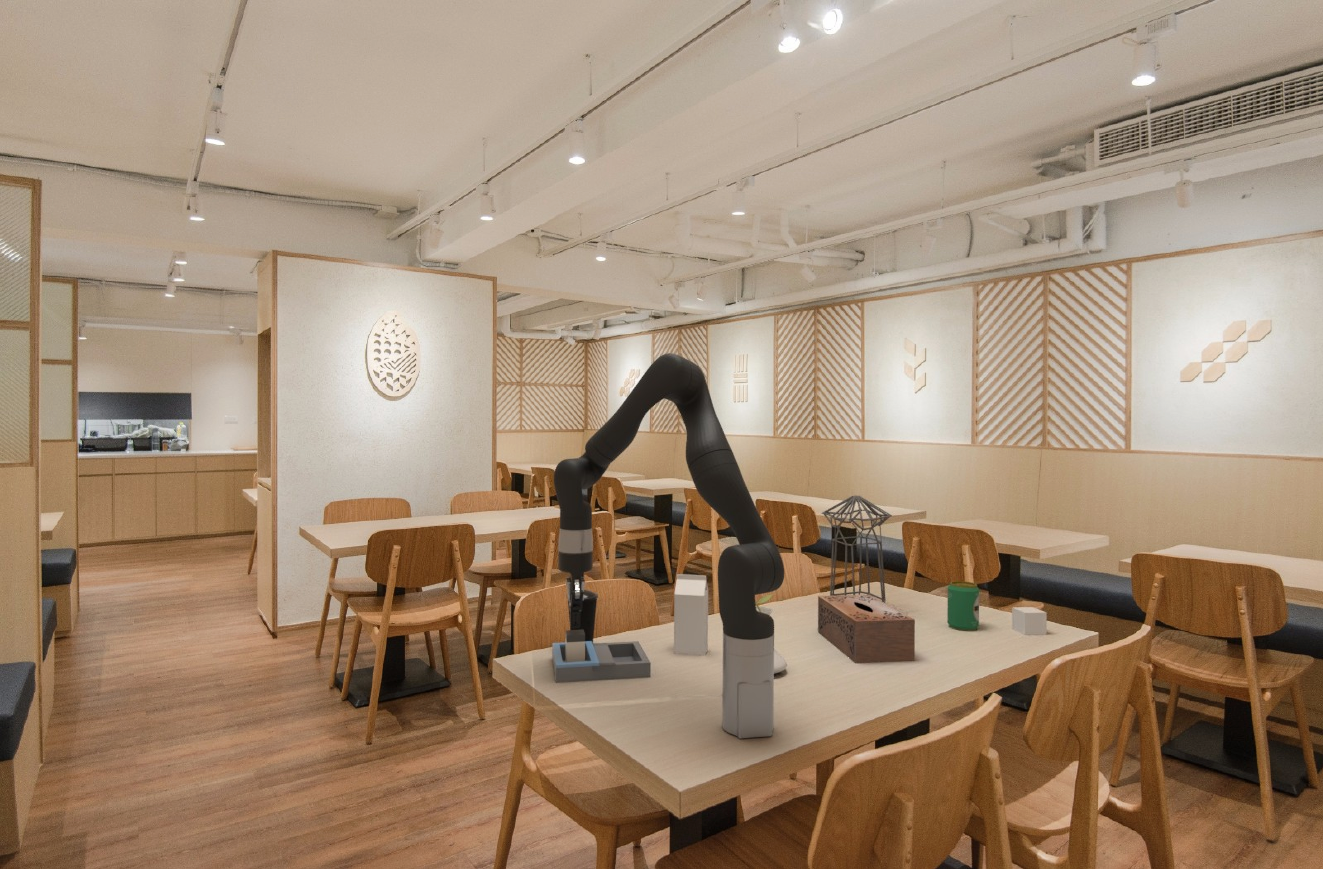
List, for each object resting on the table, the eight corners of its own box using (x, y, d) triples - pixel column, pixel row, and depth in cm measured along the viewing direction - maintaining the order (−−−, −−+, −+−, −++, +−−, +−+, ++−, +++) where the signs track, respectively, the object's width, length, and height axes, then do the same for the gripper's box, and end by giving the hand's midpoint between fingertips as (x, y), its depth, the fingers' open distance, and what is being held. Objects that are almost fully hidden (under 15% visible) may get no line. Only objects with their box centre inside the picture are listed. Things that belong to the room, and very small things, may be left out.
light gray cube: (1032, 629, 200) (1033, 607, 200) (1046, 635, 194) (1046, 612, 194) (1011, 629, 200) (1012, 607, 199) (1024, 635, 194) (1025, 612, 194)
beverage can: (976, 633, 195) (976, 588, 195) (944, 628, 200) (945, 584, 199) (980, 626, 202) (981, 582, 202) (950, 622, 206) (950, 579, 206)
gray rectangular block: (584, 671, 160) (585, 634, 160) (566, 672, 159) (566, 635, 159) (583, 665, 164) (583, 629, 164) (565, 666, 163) (565, 630, 163)
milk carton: (703, 659, 172) (704, 578, 171) (673, 657, 173) (674, 577, 173) (707, 650, 179) (708, 572, 178) (679, 648, 180) (679, 571, 180)
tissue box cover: (914, 662, 171) (914, 619, 171) (855, 664, 170) (855, 621, 169) (869, 631, 197) (870, 594, 197) (817, 633, 195) (818, 595, 195)
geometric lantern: (895, 619, 209) (895, 497, 208) (846, 624, 205) (845, 499, 204) (866, 605, 224) (865, 491, 223) (819, 609, 220) (818, 493, 219)
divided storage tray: (650, 681, 157) (650, 659, 156) (556, 687, 153) (556, 665, 153) (638, 658, 172) (638, 638, 172) (552, 662, 168) (552, 642, 168)
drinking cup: (559, 653, 176) (560, 569, 176) (577, 644, 182) (578, 564, 182) (586, 658, 172) (586, 573, 172) (603, 649, 179) (604, 567, 179)
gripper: (595, 553, 155) (595, 635, 156) (589, 543, 168) (589, 618, 169) (560, 554, 154) (559, 636, 154) (557, 544, 167) (556, 620, 167)
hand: (575, 627), depth 161 cm, fingers closed
